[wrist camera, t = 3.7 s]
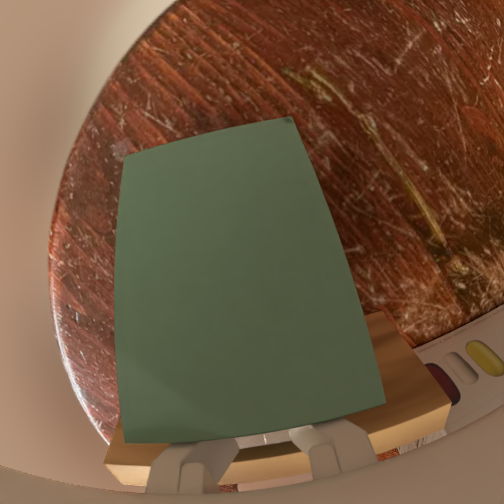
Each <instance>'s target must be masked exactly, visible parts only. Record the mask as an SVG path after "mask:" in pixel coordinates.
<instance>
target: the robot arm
mask: <svg viewBox="0 0 504 504" xmlns="http://www.w3.org/2000/svg"><path fill="white" fill-rule="evenodd" d="M287 441H292V442H293V443H294V444H295V445H296V446H297V447H298V448H299V449H301V450H302V451H303V452H304V453H305V454H306V455H307V456H308V457H309V460H310V466H311V472H312V478H313V480H312V481H307V482H302V483H297V484H291V485H286V486H280V487H273V488H266V489H258V490H250V491H240V492H228V493H223V492H222V491H221V489H220V488H219V486H218V485H217V484H218V483H219V481H220V480H221V478H222V477H223V475H224V474H225V472H226V471H227V469H228V468H229V466H230V464H231V463H232V461H233V460H234V458H235V457H236V455H237V454H238V452H239V449H244V448H250V447H256V446H262V445H268V444H275V443H281V442H287ZM0 504H504V404H503V405H501V406H500V407H498V408H496V409H495V410H493V411H491V412H489V413H488V414H486V415H484V416H482V417H481V418H479V419H477V420H475V421H473V422H471V423H470V424H468V425H466V426H464V427H462V428H460V429H458V430H456V431H454V432H452V433H450V434H448V435H446V436H443V437H441V438H439V439H437V440H435V441H432V442H430V443H428V444H425V445H423V446H421V447H418V448H416V449H413V450H411V451H408V452H406V453H403V454H400V455H398V456H395V457H392V458H389V459H387V460H384V461H381V462H378V459H377V456H376V454H375V451H374V449H373V446H372V444H371V441H370V439H369V436H368V434H367V432H366V431H365V430H363V429H362V428H360V427H358V426H357V425H355V424H353V423H352V422H350V421H348V420H347V419H345V418H343V417H340V418H336V419H332V420H328V421H324V422H320V423H316V424H311V425H307V426H302V427H298V428H293V429H288V430H282V431H277V432H271V433H265V434H259V435H252V436H245V437H238V438H230V439H221V440H211V441H199V442H184V443H171V444H170V445H169V446H168V447H167V448H166V449H165V450H164V451H163V452H162V453H161V454H160V455H159V456H158V457H157V458H156V459H155V460H154V461H153V462H152V463H151V468H150V472H149V477H148V481H147V486H146V491H145V493H134V492H124V491H114V490H106V489H98V488H91V487H85V486H80V485H74V484H69V483H64V482H59V481H55V480H51V479H46V478H42V477H38V476H35V475H31V474H27V473H24V472H20V471H17V470H13V469H11V468H8V467H4V466H2V465H0Z"/></svg>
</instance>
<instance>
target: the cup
mask: <svg viewBox="0 0 504 504" xmlns="http://www.w3.org/2000/svg"><path fill="white" fill-rule="evenodd" d="M312 480H313V478H312V473H306V474H301V475H295V476H290V477H284V478H278V479H272V480H265V481H257V482H249V483H240V484H238V485H237V487H238V492H240V491H250V490H258V489H266V488H273V487H280V486H286V485H291V484H297V483H302V482H307V481H312Z"/></svg>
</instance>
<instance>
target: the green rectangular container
mask: <svg viewBox="0 0 504 504" xmlns="http://www.w3.org/2000/svg"><path fill="white" fill-rule="evenodd" d="M114 330H115V355H116V371H117V384H118V395H119V404H120V413H121V421H122V429H123V436H124V442H125V443H126V444H161V443H184V442H199V441H211V440H221V439H230V438H238V437H245V436H252V435H259V434H265V433H271V432H277V431H282V430H288V429H293V428H298V427H302V426H307V425H311V424H316V423H320V422H324V421H328V420H332V419H336V418H340V417H344V416H347V415H351V414H354V413H358V412H361V411H365V410H368V409H371V408H374V407H377V406H381V405H384V404H386V398H385V394H384V389H383V385H382V381H381V376H380V372H379V368H378V364H377V360H376V356H375V353H374V349H373V345H372V341H371V338H370V334H369V330H368V327H367V323H366V320H365V316H364V313H363V309H362V306H361V302H360V299H359V296H358V293H357V289H356V286H355V283H354V280H353V277H352V273H351V270H350V267H349V264H348V261H347V258H346V255H345V252H344V249H343V246H342V243H341V240H340V237H339V235H338V232H337V229H336V226H335V223H334V221H333V218H332V215H331V212H330V210H329V207H328V204H327V201H326V199H325V196H324V194H323V191H322V188H321V186H320V183H319V181H318V178H317V176H316V173H315V170H314V168H313V165H312V163H311V161H310V158H309V156H308V153H307V151H306V148H305V146H304V144H303V141H302V139H301V137H300V134H299V132H298V130H297V127H296V125H295V123H294V121H293V118H292V117H291V116H289V117H283V118H277V119H271V120H266V121H260V122H255V123H250V124H245V125H240V126H235V127H231V128H226V129H222V130H217V131H213V132H209V133H205V134H201V135H196V136H193V137H189V138H185V139H181V140H177V141H174V142H170V143H166V144H163V145H159V146H156V147H152V148H149V149H146V150H142V151H139V152H136V153H133V154H130V155H127V156H125V157H124V163H123V171H122V179H121V187H120V197H119V207H118V218H117V232H116V248H115V273H114Z"/></svg>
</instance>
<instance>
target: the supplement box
mask: <svg viewBox="0 0 504 504" xmlns="http://www.w3.org/2000/svg"><path fill="white" fill-rule="evenodd" d="M413 351H414V352H415V353H416V354H417V356H418V357H419V358H420V360H421V361H422V362H423V364H424V365H425V366H426V368H427V369H428V370H429V372H430V373H431V374H432V376H433V377H434V378H435V380H436V381H437V382H438V384H439V385H440V386H441V388H442V389H443V391H444V392H445V393H446V395H447V396H448V397H449V399H450V400H451V402H452V404H451V408H450V411H449V414H448V417H447V420H446V423H445V426H444V428H443V429H441V430H439V431H437V432H435V433H432V434H430V435H428V436H425V437H423V438H420V439H418V440H416V441H413V442H411V443H408V444H405V445H403V446H400V447H397V449H398V451H399V453H400V454H403V453H406V452H408V451H411V450H413V449H416V448H418V447H421V446H423V445H425V444H428V443H430V442H432V441H435V440H437V439H439V438H441V437H443V436H446V435H448V434H450V433H452V432H454V431H456V430H458V429H460V428H462V427H464V426H466V425H468V424H470V423H471V422H473V421H475V420H477V419H479V418H481V417H482V416H484V415H486V414H488V413H489V412H491V411H493V410H495V409H496V408H498V407H500V406H501V405H503V404H504V304H503V305H501V306H499V307H497V308H496V309H494V310H492V311H490V312H489V313H487V314H485V315H483V316H481V317H479V318H477V319H476V320H474V321H472V322H470V323H468V324H466V325H464V326H462V327H460V328H458V329H456V330H454V331H452V332H450V333H448V334H446V335H444V336H442V337H439V338H437V339H435V340H433V341H431V342H429V343H426V344H424V345H422V346H420V347H417V348H415V349H413Z"/></svg>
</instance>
